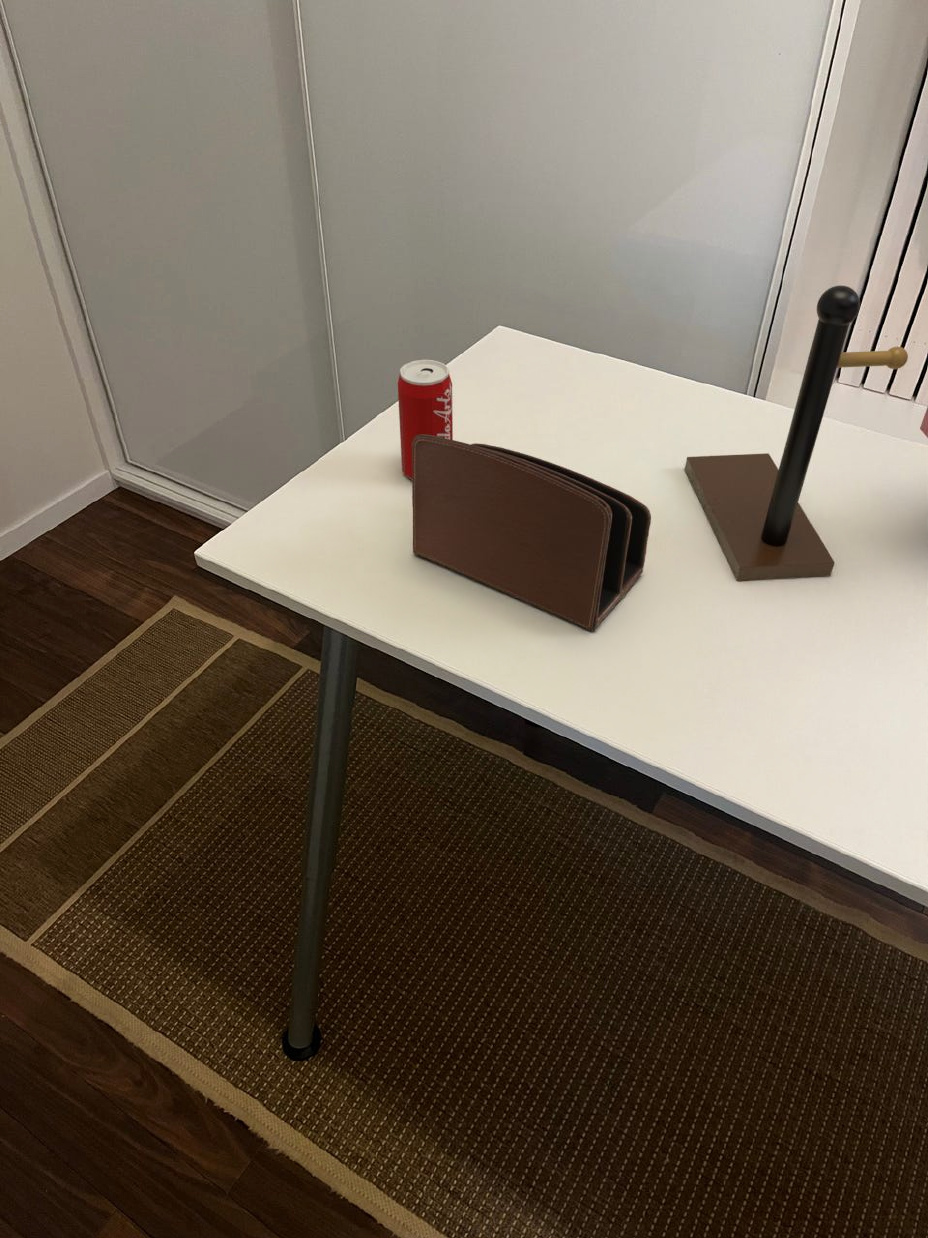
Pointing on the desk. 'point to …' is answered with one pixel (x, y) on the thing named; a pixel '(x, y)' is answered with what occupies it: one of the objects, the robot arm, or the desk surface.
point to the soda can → (423, 405)
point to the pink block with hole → (925, 424)
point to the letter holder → (527, 527)
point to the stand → (783, 465)
